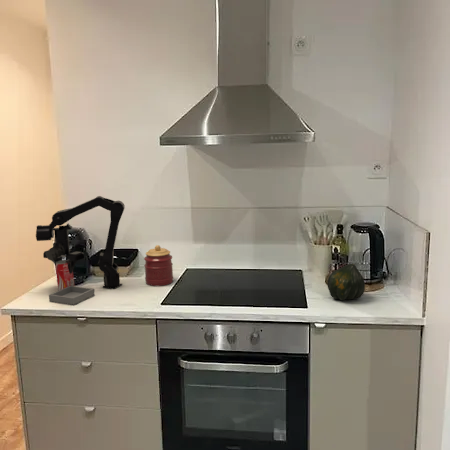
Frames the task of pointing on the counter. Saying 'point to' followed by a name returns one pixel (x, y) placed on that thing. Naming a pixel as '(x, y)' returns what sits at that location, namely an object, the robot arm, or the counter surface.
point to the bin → (71, 295)
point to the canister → (158, 267)
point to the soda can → (63, 275)
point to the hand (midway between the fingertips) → (65, 273)
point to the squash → (346, 283)
